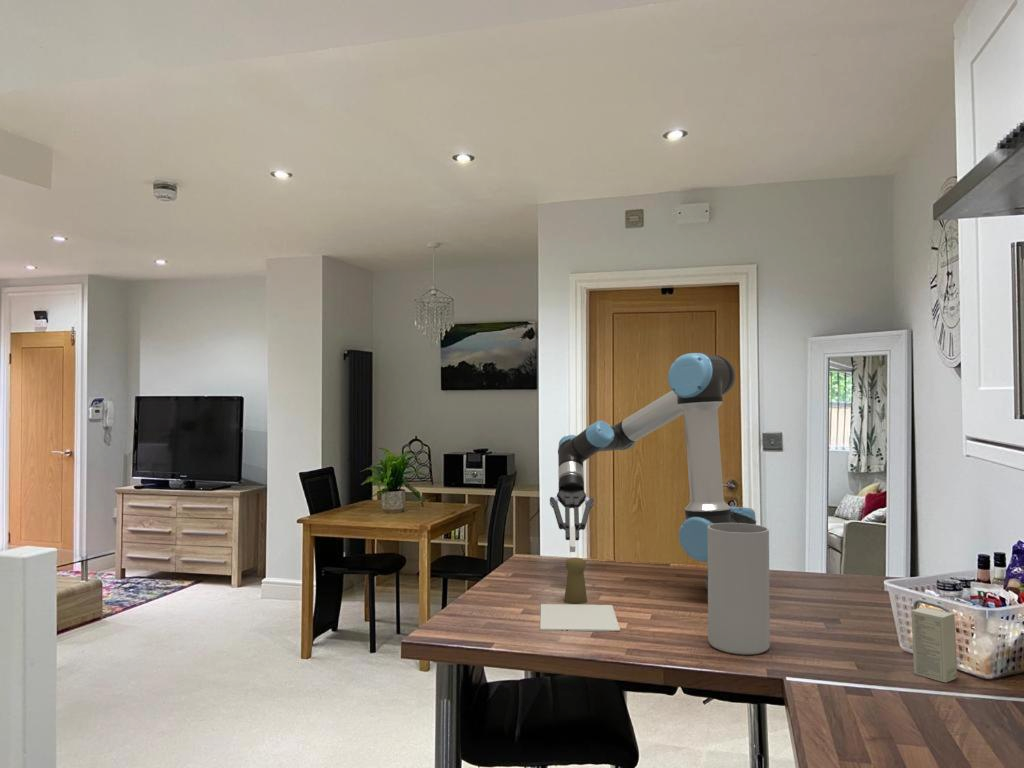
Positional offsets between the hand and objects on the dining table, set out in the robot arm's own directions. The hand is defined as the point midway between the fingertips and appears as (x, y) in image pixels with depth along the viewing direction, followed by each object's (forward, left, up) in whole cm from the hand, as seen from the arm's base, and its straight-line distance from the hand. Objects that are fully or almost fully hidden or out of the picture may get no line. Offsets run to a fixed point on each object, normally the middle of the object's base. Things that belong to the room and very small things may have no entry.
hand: (572, 549), depth 199 cm
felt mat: (-17, +16, -12) cm, 26 cm away
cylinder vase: (-54, +6, -12) cm, 55 cm away
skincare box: (-88, -6, -12) cm, 89 cm away
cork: (-7, +6, -12) cm, 15 cm away
